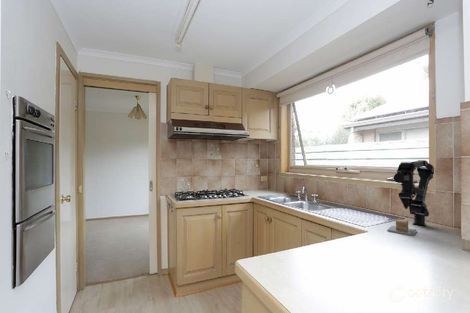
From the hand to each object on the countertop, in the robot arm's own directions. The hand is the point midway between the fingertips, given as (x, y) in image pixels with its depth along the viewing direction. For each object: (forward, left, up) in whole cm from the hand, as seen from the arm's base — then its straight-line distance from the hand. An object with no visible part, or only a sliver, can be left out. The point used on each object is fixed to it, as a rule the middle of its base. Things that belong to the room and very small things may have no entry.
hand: (407, 207), depth 145 cm
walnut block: (+12, -1, -11) cm, 16 cm away
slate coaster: (+12, -1, -12) cm, 17 cm away
